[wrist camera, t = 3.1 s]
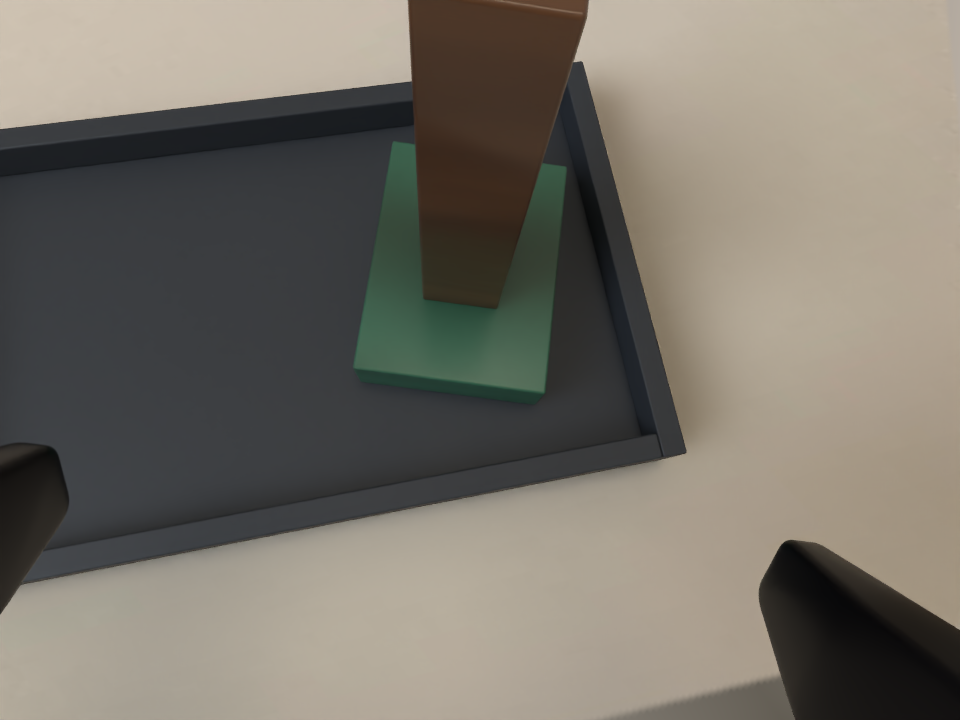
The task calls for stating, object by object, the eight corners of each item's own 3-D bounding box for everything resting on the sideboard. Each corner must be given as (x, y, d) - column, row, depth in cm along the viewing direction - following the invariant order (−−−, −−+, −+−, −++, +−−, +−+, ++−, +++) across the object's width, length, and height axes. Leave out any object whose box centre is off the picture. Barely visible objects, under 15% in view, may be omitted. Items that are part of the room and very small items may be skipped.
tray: (569, 100, 25) (582, 60, 23) (661, 459, 22) (687, 452, 20) (-61, 178, 22) (-116, 141, 20) (-65, 601, 19) (-130, 612, 17)
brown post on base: (535, 405, 21) (717, 209, 8) (359, 382, 21) (222, 136, 7) (556, 195, 23) (730, -257, 10) (396, 171, 23) (341, -327, 9)
